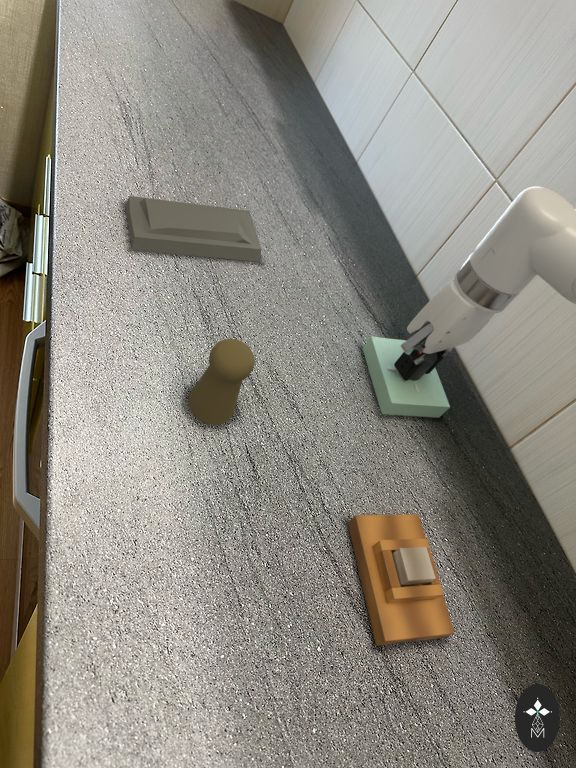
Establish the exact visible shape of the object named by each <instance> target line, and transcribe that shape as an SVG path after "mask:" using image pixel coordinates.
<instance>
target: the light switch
mask: <svg viewBox="0 0 576 768" xmlns="http://www.w3.org/2000/svg"><path fill="white" fill-rule="evenodd" d="M347 526H348V530H349V534H350V539H351V543H352V547H353V552H354V556H355V560H356V564H357V569H358V573H359V578H360V583H361V587H362V591H363V596H364V600H365V605H366V608H367V613H368V617H369V621H370V625H371V626H370V627H371V631H372V634H373V635H372V636H373V639H374V644H375V646H376V647H379V646H386V645H387V646H389V645H395V644H405V643H412V642H413V643H414V642H421V641H430V640H438V639H439V640H440V639H446V638H447V637H450V636H452V635H454V634H455V633H456V632H455V630H454V626H453V623H452V619H451V617H450V614H449V610H448V607H447V603H446V599H445V597H444V595H445V593H444V590H443V587H442V584H441V581H440V577H439V573H438V571H437V568H436V564H435V561H434V558H433V554H432V550H431V547H430V544H429V541H428V539H427V537H426V533H425V530H424V527H423V524H422V520H421V517H420V514H417V513H416V514H412V513H411V514H364V515H363V514H362V515H354V516H353V517H352V518H351V519H350V520H349V521H347ZM415 547H426V548H427V551H428V554H429V558H430V561H431V564H432V568H433V571H434V574H435V578H436V579H434V580H433V581H431V582H429V583H426V584H413V585H400V581H399V577H398V573H397V569H396V566H395V562H394V558H393V554H392V553H394V552H395V551H396V550H398V549H399V548H415Z"/></svg>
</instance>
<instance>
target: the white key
mask: <svg viewBox="0 0 576 768" xmlns="http://www.w3.org/2000/svg"><path fill="white" fill-rule="evenodd" d="M392 554H393V558H394V562H395V566H396V569H397V573H398V577H399V581H400V585H413V584H426V583H429V582H431V581H433V580H434V579H436V578H435V574H434V571H433V568H432V564H431V561H430V558H429V554H428V551H427V548H426V547H415V548H399V549H398V550H396V551H395V552H394V553H392Z"/></svg>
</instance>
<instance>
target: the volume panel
mask: <svg viewBox="0 0 576 768" xmlns="http://www.w3.org/2000/svg"><path fill="white" fill-rule="evenodd" d="M406 341H407V340H405V339H397V338H396V339H395V338H387V337H379V336H369V338H368V340H367V341H366V343H365V344H364V346H363V347H362V352H363V355H364V359H365V362H366V366H367V370H368V372H369V375H370V379H371V383H372V385H373V389H374V392H375V396H376V399H377V403H378V405H379V406H378V407H379V409H380V413H381V415H388V416H403V417H404V416H405V417H420V418H421V417H423V418H438V419H439V418H440V417H441V416H442V415H444V414H445V413H446V412H447V411H448V410H449V409H450V408H451V405H450V403H449V400H448V398H447V394H446V392H445V390H444V387H443V384H442V381H441V379H440V376H439V374H438V370H437V369H436V367H435V368H434V369H433V370H432V371H431V373H429V374H424V375H423V376H422V377H421V378H420V379H419V380H416V381H413V380H407V381H405V380H404V379H403V377H402V376H401V375H400V373H399V372H398V370H397V369H396V368H395V366H394V364H395V362H396V361H397V360H398V359H399V357H400V356H401V355H402V354H403V352H404V351H403V349H402V348H401V345H402V344H403V343H404V342H406Z"/></svg>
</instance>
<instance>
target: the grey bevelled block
mask: <svg viewBox="0 0 576 768" xmlns="http://www.w3.org/2000/svg"><path fill="white" fill-rule="evenodd" d="M124 206H125V212H126V220H127V224H128V225H127V226H128V232H129V238H130V244H131V250H132V251H135V252H146V253H158V254H166V255H167V254H168V255H177V256H178V255H179V256H189V257H201V258H212V259H221V260H222V259H224V260H232V261H233V260H235V261H245V262H256V263H260V262H261V256H262V255H261V254H262V247H261V244H260V241H259V238H258V234H257V231H256V227H255V224H254V221H253V217H252V214H251V210H245V209H239V208H229V207H222V206H215V205H214V206H213V205H208V204H207V205H206V204H199V203H190V202H181V201H175V200H168V199H167V200H166V199H160V198H159V199H158V198H149V197H142V196H135V195H128V198H127V200H126V201H125V204H124Z"/></svg>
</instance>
